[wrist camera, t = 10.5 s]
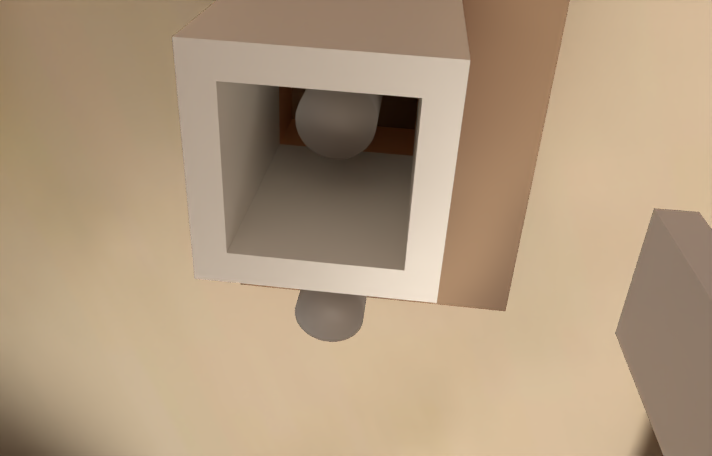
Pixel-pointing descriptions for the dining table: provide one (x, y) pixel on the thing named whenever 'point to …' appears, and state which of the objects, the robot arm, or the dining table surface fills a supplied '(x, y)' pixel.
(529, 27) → the pin board
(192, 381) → the dining table surface
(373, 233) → the sleeve
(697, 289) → the robot arm
